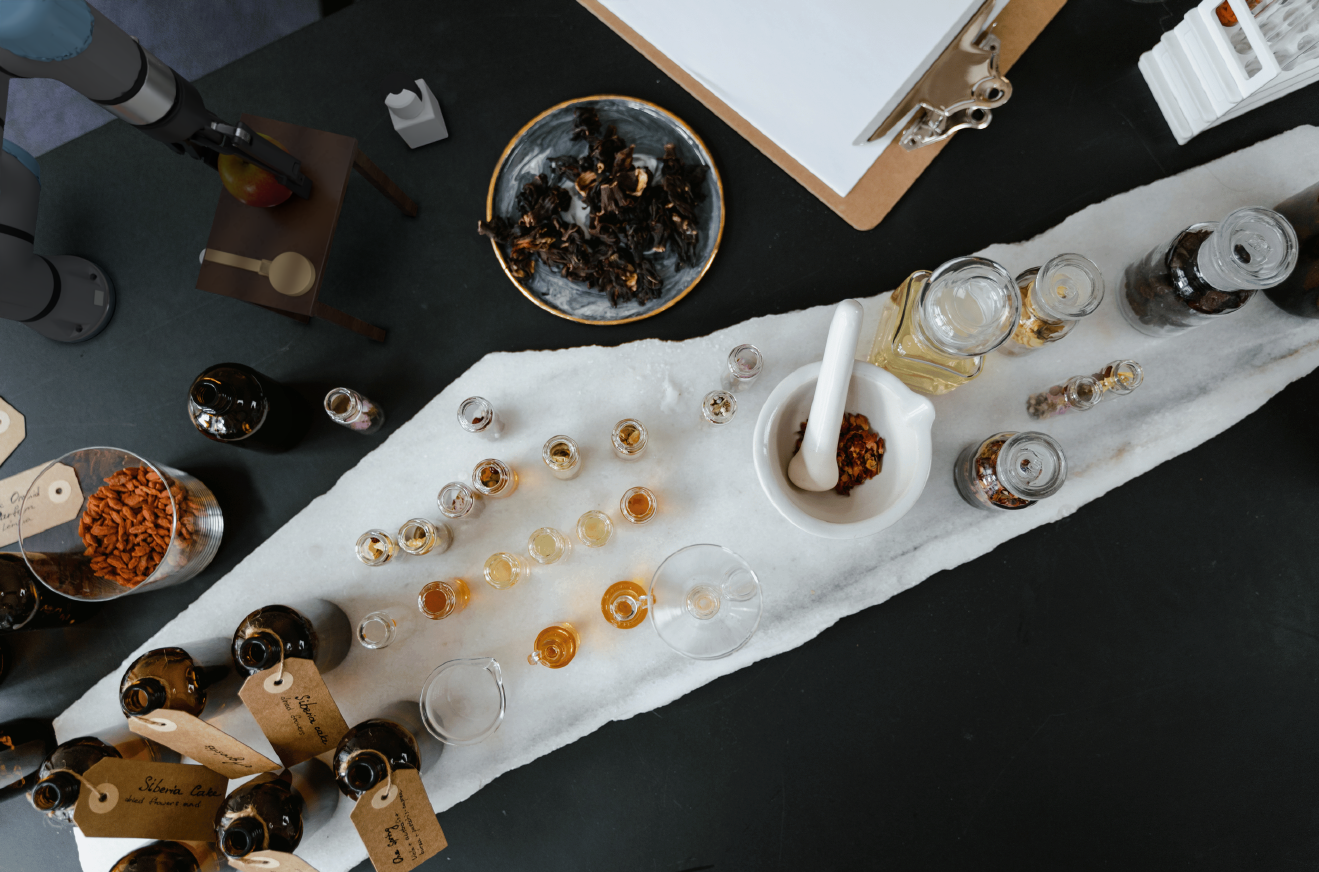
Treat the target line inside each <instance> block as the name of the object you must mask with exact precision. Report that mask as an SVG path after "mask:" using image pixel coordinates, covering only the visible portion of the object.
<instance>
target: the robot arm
mask: <svg viewBox="0 0 1319 872" xmlns="http://www.w3.org/2000/svg"><path fill="white" fill-rule="evenodd" d="M11 79H24V80H25V79H30V80H31V79H50V80H55V81H56V82H59V83H62V84H64V85H65V86H67V87H68V88H70V89H72V90H74V92H77V93H79V94H81V95H82V96H84V97H85V98H87V99H88V100H89V101H90V102H92V103H94V104H95V105H97V106H98V107H100V108H101V109H103V110H104V111H106V112H108V113H109V114H111V115H113V116H114V117H116V118H118V119H119V120H121V121H123V122H125V123H128V124H129V125H130V126H132V127H133V128H135V129H136V130H138V131H140V132H141V133H143V134H145V135H146V136H148V138H151V139H153V140H155V141H157V142H161V143H162V144H163V145H165V146H166V147H167V148H169V149H170V150H171V151H173V152H174V153H175V154H176V155H179V156H185V154H186V153H187V154H188V155H189V157H190V158H192V159H193V160H196V161H202V163H203V164H205V165H206V166H208V167H209V168H211V169H212V170H214V171H216V172H217V173H219V171H218V157H219V153H221V154H223V155H234V156H236V157H238V158H240V159H242V160H244V161H246V162H248V163H250V164H252V165H254V166H256V167H258V168H260V169H262V170H264V171H266V172H268V173H270V174H272V175H274V176H275V179H276V180H277V181H278V182H277V183H278V184H280V185H284V186H286V187H287V188H288V189H290V190H291V191H293V192H294V193H295V194H297V195H298V196H300V197H301V198H303V199H306V200H308V198H309V194H310V190H311V186H312V183H313V181H312V180H310V179H309V178H308V177H306V176H305V175H304V174H303V173H301V172H300V167H301V163H302V162H301V161H300V160H298V159H296V158H295V157H293V156H292V155H290V154H289V153H287V152H285V151H284V150H282V149H281V148H279V147H278V146H276V145H274V144H273V143H271V142H270V141H268V140H267V139H265V138H263V137H262V136H260V135H259V134H257V133H256V132H254V131H253V130H252V129H251V128H250V127H249V126H248V125H246V124H245V123H244V122H240V120H236V121H235V125H233V124H231V123H229V122H227V121H225V120H224V119H222V118H220V117H219V116H218V115H217V114H216V113H215V112H213V111H211V110H209V109H207V108H206V105H205V103H204V100H203V98H202V97H203V96H202V95H201V93H200V91H199V90H198V89H197V87H196V86H195V85H194V84H193V83H191V82H190V81H189V80H188V79H186V78H185V77H184V76H183V75H181V74H180V73H179V72H177V71H176V70H175V69H174V68H172V67H171V66H169V65H168V64H166V62H164V61H163V60H161V59H160V58H159V57H158V56H157V55H155V54H154V53H152V52H151V51H150V50H149V49H147V47H145V46H144V45H142V44H140V39H139V38H138V37H137V36H136V35H131V34H129V33H127V32H126V31H124V30H123V29H122V28H121V27H120V26H118V25H117V24H116V23H115V22H113V21H112V20H111V19H110V18H108V17H107V15H105V14H104V13H102V12H101V11H100V10H98V8H96V7H95V6H94V5H92V3H89V1H88V0H0V318H1V319H4V320H10V321H14V322H18V323H21V324H23V325H24V326H26V327H28V328H30V329H32V331H34V332H36V333H37V334H40V335H41V336H42V337H43V336H44V337H45V338H47V339H49V340H54V341H57V342H64V343H70V344H71V343H72V344H73V343H82V342H85V341H88V340H90V339H92V338H94V337H96V336H97V335H99V334H100V333H101V332H102V331H103V330H104V329H105V328H106V326H107V325H108V323H109V322H110V321H111V318H112V316H113V314H114V312H115V306H116V292H115V291H116V290H115V287H114V283H113V281H112V279H111V278H110V277H111V276H109V274H108V273H107V272H106V270H104V269H103V268H102V267H101V266H100V265H99V264H97V263H96V262H93V261H91V260H88V259H86V258H83V257H79V256H76V255H71V254H70V255H69V254H67V255H65V254H62V255H61V254H59V255H57V254H55V255H54V254H52V255H51V254H49V255H48V254H46V255H44V254H43V255H41V254H37V253H35V252H34V249H35V248H34V247H35V237H36V228H37V222H38V213H39V205H40V197H41V191H42V182H41V167H40V164H39V162H38V160H37V159H36V157H34V156H33V155H32V154H31V153H30V152H29V151H28V150H26V149H25V148H23V147H22V146H20V145H18V144H17V143H15V142H13V141H11V140H9V139H7V138H5V137H4V133H5V126H6V120H7V119H6V118H7V109H8V99H9V88H10V80H11ZM224 137H225V138H224Z"/></svg>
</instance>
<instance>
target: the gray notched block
mask: <svg viewBox="0 0 1319 872" xmlns="http://www.w3.org/2000/svg"><path fill="white" fill-rule="evenodd" d="M379 96H380V98H381V100H382V102H383V103H384V104H385V106H386V107H387V109H388V112H389V115H390V118H391V122H392V125H393V128H394V130H395V132H396V133H397V134H398V135H399V136H400V138H401V139H402V140H403V141H404V142H405V144H407V146H408V147H409V148H410V149H412V150H413V149H416V148H419V147H422V146H425V145H428V144H431V143H435V142H437V141H441V140H443V139H446V138H448V137H449V133H448V129H447V126H446V123H445V119H444V117H443V114H442V110H441V107H440V103H439V100H438V99H437V98H436V96H435V94H434V93H433V92H432V90H431V88H430V87H429V85H428V84H427V83H426V81H425V79H423V78H419V79H416V80H415V79H414V78H413V77H412V75H410V74H408V73H407V72H404V71H393V72H390V73H389V74H387V75H386V76H384V78H383V79H382V80H381V82H380V85H379Z"/></svg>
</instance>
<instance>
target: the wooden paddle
mask: <svg viewBox="0 0 1319 872" xmlns="http://www.w3.org/2000/svg"><path fill="white" fill-rule="evenodd" d="M205 260H208V261H210V262H215V263H219V264H223V265H227V266H232V267H236V268H240V269H244V270H249V271H253V272H257V273H258V274H259V275H262V276H265V277H269V279H270V282H271V284H272V286H273V287H274V288H275V289H276V290H277V291H279V292H280V293H283V294H285V295H287V296H294V297H295V296H300V295H303V294H305V293H306V292H308V291H309V290H310V289H311V287H312V286H313V284H314V281H315V269H314V266H313V264H312V263H311V261H310V260H309V259H308V258H306V257H304V256H303V255H301V254H299V253H296V252H286V253H283V254H280V255H279V256H277V257H276V258H275V259H274V260H273V261H269V260H265V259H262V261H260V260H256V259H251V258H247V257H243V256H238V255H234V254H230V253H226V252H221V251H217V250H213V249H209V248H207V251H206V255H205Z"/></svg>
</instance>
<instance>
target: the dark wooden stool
mask: <svg viewBox="0 0 1319 872" xmlns="http://www.w3.org/2000/svg"><path fill="white" fill-rule="evenodd" d="M239 121H240V122H244V123H245V124H246V125H248V126H249V127H250V128H251V129H252V130H253V131H254V132H256V133H261V134H264V135H267V136H269V137H271V138H273V139H275V140H276V141H278V142H280V143H281V144H282V145H283V146H284V147H285V148H286V149H287V150H288V151H289V153H290V154H291V155H292V156H293V157H295V158H296V159H298V160H300V161H301V162H302V163H301V167H300V172H301V173H303V174H304V175H305V176H306V177H308V178H309V179H310V180H312V181H313V183H312V186H311V190H310V194H309V198H308V200H306V199H303V198H301V197H300V196H298V195H297V194H295V193H294V192H293V193H292V194H291V196H290V197H289V198H288V199H287V200H285V201H284V202H282V203H280V204H278V205H275V206H271V207H253V206H249V205H246V204H244V203H242V202H240V201H238V200H237V199H236V198H235V197H234V196H232V195H231V194H230V193H229V191H228V190H227V189H226V187H225V186H224V184H223V183H222V186H221V190H220V194H219V197H218V201H217V205H216V209H215V213H214V215H213V216H214V217H213V220H212V223H211V228H210V231H209V234H208V239H207V243H206V246H205V249H206V250H205V254H204V257H203V261H202V264H200V269H199V273H198V277H197V279H196V283H195V288H194V289H195V290H199V291H202V292H207V293H210V294H213V295H219V296H223V297H227V298H232V299H234V300H237V301H239V302H243V303H245V304H247V305H249V306H252V307H255V308H258V309H260V310H261V309H262V310H264V311H266V312H269V313H272V314H275V315H278V316H281V317H283V318H286V319H288V320H291V321H294V322H297V323H301V324H304V325H309V322H310V317H311V318H313V317H315V318H317V319H319V320H322V321H325V322H327V323H330V324H332V325H335V326H338V327H339V328H343V329H345V330H347V331H349V332H352V333H354V334H357V335H359V336H362V337H365V338H367V339H369V340H372V341H376V342H380V343H384V340H385V337H386V335H387V334H386V333H387V331H386V330H384V329H381V328H379V327H377V326H375V325H373V324H371V323H369V322H366V321H364V320H361V319H359V318H357V317H355V316H353V315H351V314H349V313H346V312H345V311H341V310H339V309H337V308H335V307H333V306H331V305H328V304H326V303H324V302H322V301H319V296H320V292H321V288H322V285H323V281H324V276H325V273H326V269H327V266H328V262H329V258H330V255H331V251H332V246H333V242H334V239H335V234H336V230H337V227H338V223H339V219H340V216H341V213H342V208H343V203H344V201H345V195H346V192H347V188H348V185H349V181H350V176H351V173H352V169H354V170H355V171H356V172H357V173H358V174H359V175H360V176H361V177H363V179H365V180H366V181H367V182H368V183H369V184H370V185H372V186H373V188H375V189H376V190H377V191H378V192H379V193H380V194H381V195H382V196H383V197H385V198H386V199H387V200H388V201H389V202H390V203H392V205H394V206H395V207H396V208H397V209H398V210H399V211H400V212H401V213H402V214H403V215H405V216H409V217H414V218H416V216H417V212H418V208H419V206H418V205H417V204H416V203H415V202H414V201H413V199H411V198H410V196H408V195H407V194H406V193H405V192H404V191H403V190H402V189H401V188H400V187H399V186H398V185H397V184H396V183H395V182H394V181H393V180H392V178H390V177H389V176H388V175H387V174H386V173H385V172H384V171H383V170H382V169H381V168H380V167H379V166H378V165H377V164H376V163H375V162H374V161H372V160H371V158H369V156H368V155H367V154H365V152H363V150H361V148H359V140H358V139H357V138H356V137H352V136H349V135H344V134H339V133H335V132H330V131H326V130H322V129H316V128H313V127H308V126H304V125H299V124H294V123H290V122H285V121H281V120H277V119H273V118H268V117H263V116H260V115H254V114H250V113H246V112H241V115H240V119H239ZM207 248H209V249H213V250H217V251H221V252H226V253H230V254H234V255H238V256H243V257H247V258H251V259H256V260H260V261H262V259H265V260H269V261H273V260H274V259H275V258H276V257H277V256H279V255H280V254H283V253H286V252H296V253H299V254H301V255H303V256H304V257H306V258H308V259H309V260H310V261H311V263H312V264H313V266H314V269H315V281H314V284H313V286H312V287H311V289H310V290H309V291H308V292H306V293H305V294H303V295H300V296H295V297H294V296H287V295H285V294H283V293H280V292H279V291H277V290H276V289H275V288H274V287H273V286H272V284H271V282H270V279H269V277H265V276H262V275H259V274H258V273H257V272H253V271H249V270H244V269H240V268H236V267H232V266H227V265H223V264H219V263H215V262H210V261H208V260H205V255H206V251H207Z"/></svg>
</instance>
